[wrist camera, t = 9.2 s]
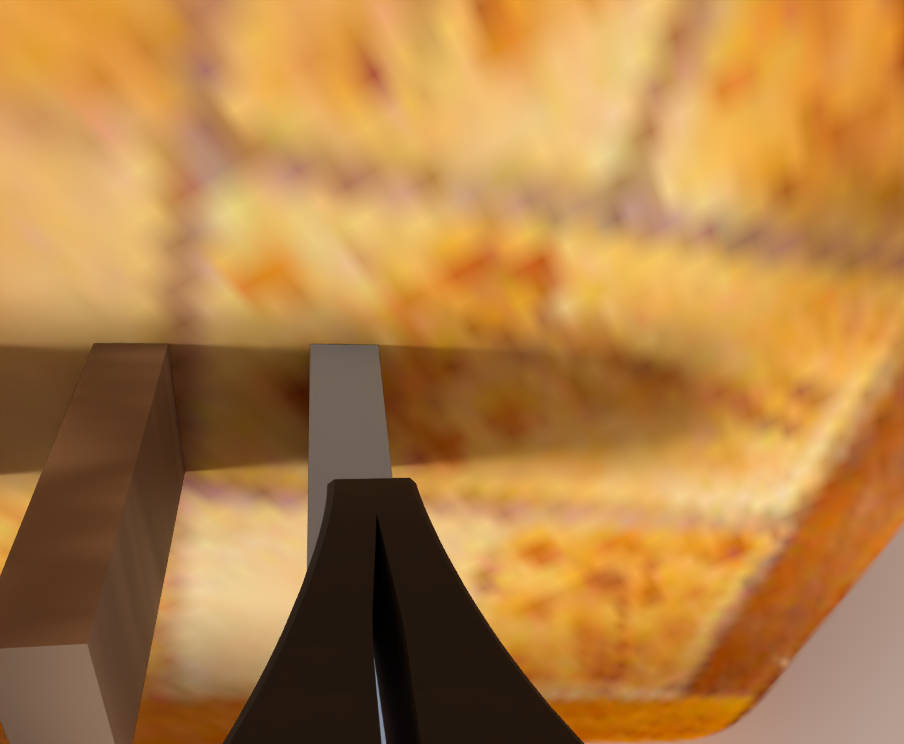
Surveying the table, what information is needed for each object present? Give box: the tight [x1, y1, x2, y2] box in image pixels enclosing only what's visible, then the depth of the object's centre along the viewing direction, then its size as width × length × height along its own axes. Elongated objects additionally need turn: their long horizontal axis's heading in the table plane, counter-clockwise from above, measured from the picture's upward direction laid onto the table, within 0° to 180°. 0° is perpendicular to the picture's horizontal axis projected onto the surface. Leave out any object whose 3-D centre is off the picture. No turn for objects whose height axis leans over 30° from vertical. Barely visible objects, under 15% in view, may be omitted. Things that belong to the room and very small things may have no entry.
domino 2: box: [307, 344, 392, 744], centre depth 21 cm, size 2×5×10 cm, turn 174°
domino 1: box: [0, 344, 185, 744], centre depth 20 cm, size 2×5×10 cm, turn 174°
